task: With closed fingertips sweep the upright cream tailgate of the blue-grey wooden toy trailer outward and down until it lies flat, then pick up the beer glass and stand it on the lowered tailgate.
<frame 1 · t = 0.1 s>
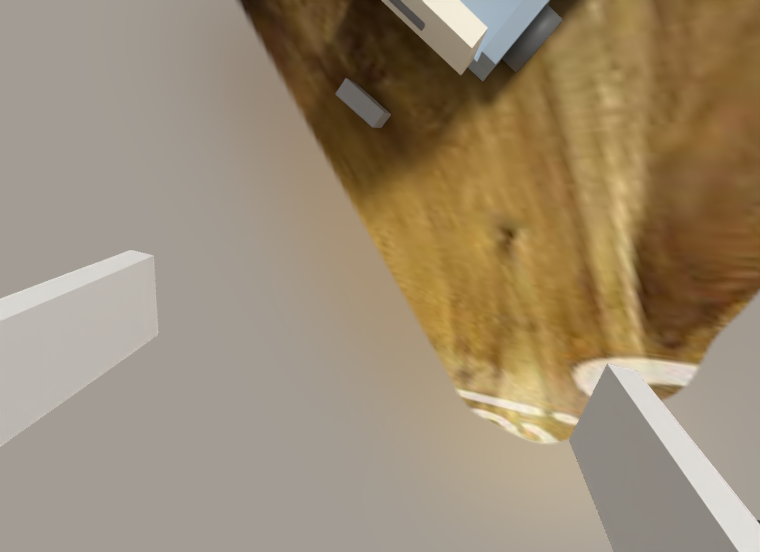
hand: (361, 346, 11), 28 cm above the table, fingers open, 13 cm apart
tailgate: (411, 1, 23), point 9 cm above the table, hinge at -3.0°
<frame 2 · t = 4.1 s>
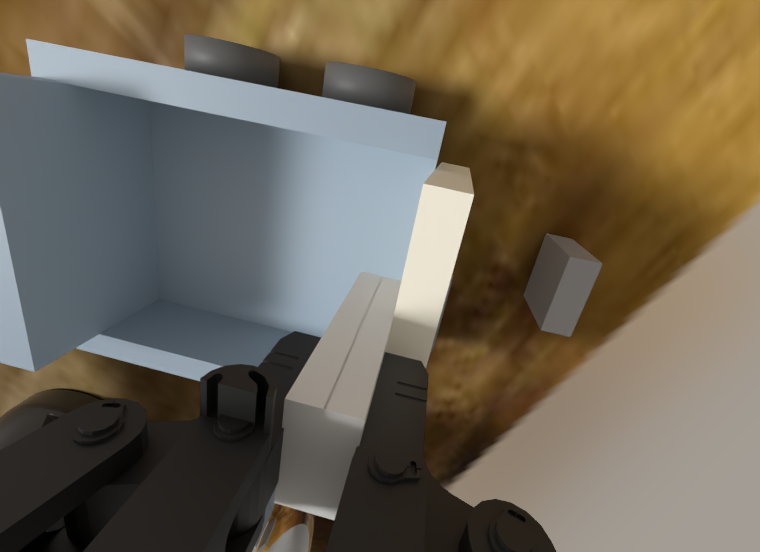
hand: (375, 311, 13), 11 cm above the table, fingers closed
beer glass: (308, 408, 29), on the table
trailer: (324, 218, 23), on the table
tailgate: (423, 307, 14), point 9 cm above the table, hinge at -2.9°, touching gripper
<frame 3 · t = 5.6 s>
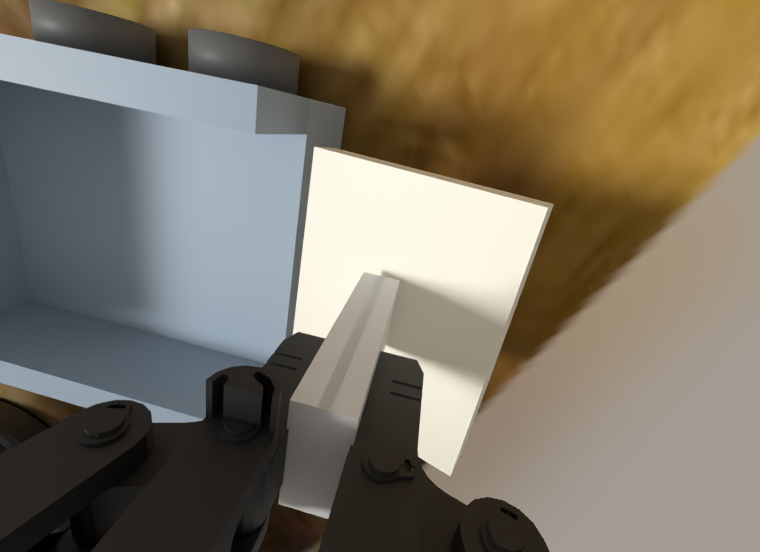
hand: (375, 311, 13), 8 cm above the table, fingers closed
trailer: (225, 212, 21), on the table
tailgate: (393, 307, 14), point 7 cm above the table, hinge at 68.7°, touching gripper
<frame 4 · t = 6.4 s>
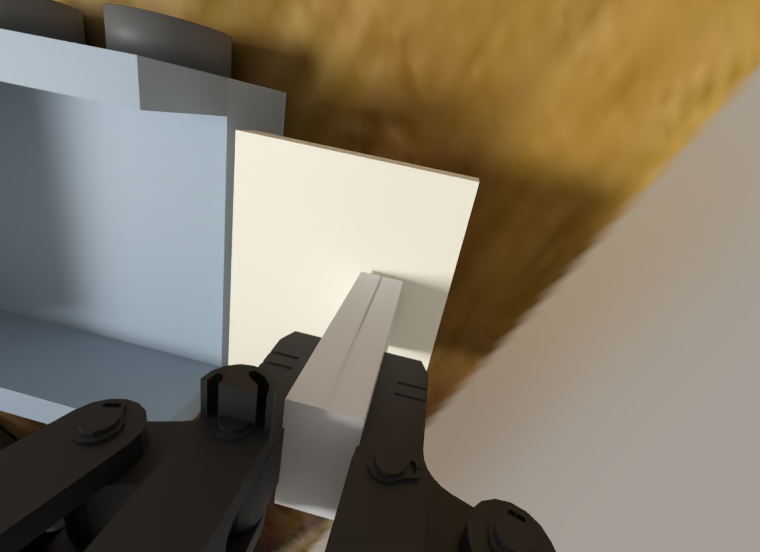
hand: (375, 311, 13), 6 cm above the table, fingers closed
trailer: (169, 204, 20), on the table
tailgate: (337, 289, 14), point 5 cm above the table, hinge at 85.9°, touching gripper
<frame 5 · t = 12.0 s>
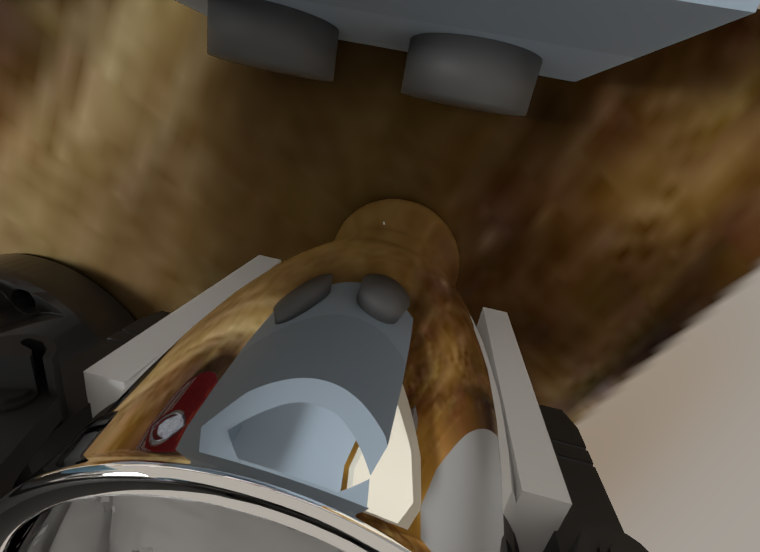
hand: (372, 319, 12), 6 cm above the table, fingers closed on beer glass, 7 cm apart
beer glass: (395, 260, 18), on the table, touching gripper
when the fingers open (13 cm above the table, at t = 16.7 s): beer glass stays where it is, resting on tailgate.
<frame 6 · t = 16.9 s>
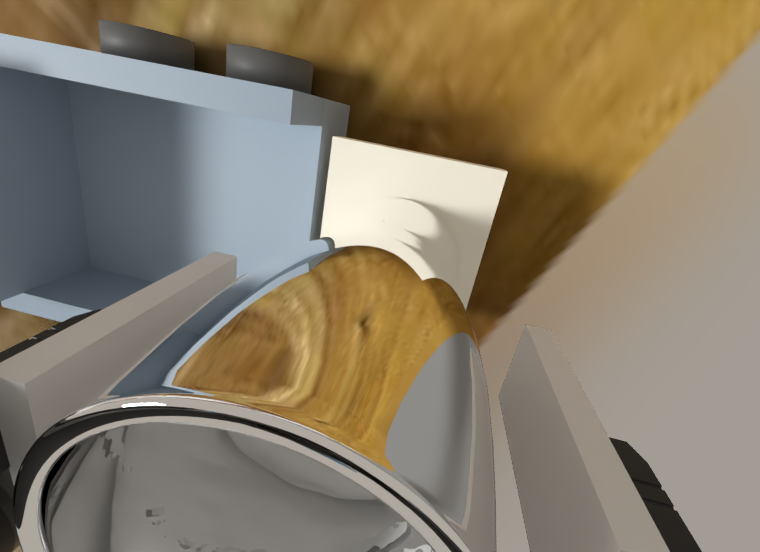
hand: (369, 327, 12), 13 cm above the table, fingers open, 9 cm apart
beer glass: (395, 257, 19), point 6 cm above the table, touching tailgate
trailer: (249, 194, 25), on the table
tailgate: (398, 252, 19), point 5 cm above the table, hinge at 88.9°, touching beer glass
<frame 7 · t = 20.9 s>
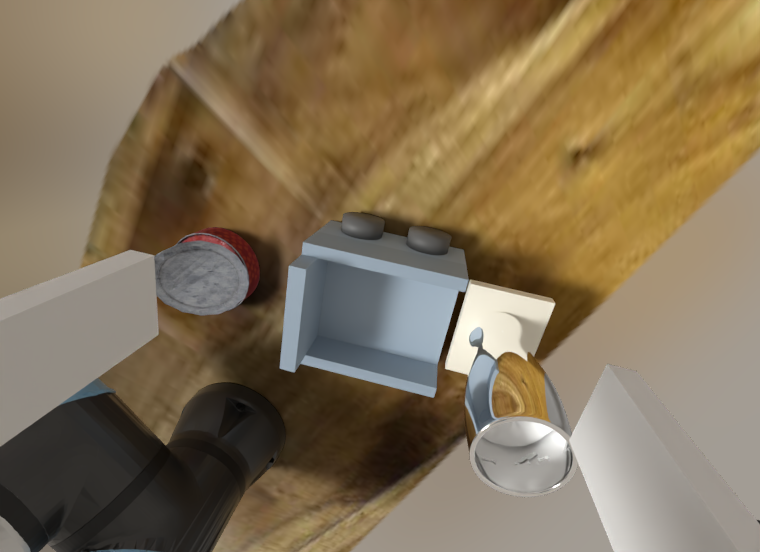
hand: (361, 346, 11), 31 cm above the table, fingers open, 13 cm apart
canned food: (224, 265, 47), on the table
beer glass: (496, 337, 38), point 6 cm above the table, touching tailgate
trailer: (398, 290, 44), on the table
tailgate: (496, 334, 38), point 5 cm above the table, hinge at 89.2°, touching beer glass
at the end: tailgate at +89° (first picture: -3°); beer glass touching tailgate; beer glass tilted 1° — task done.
